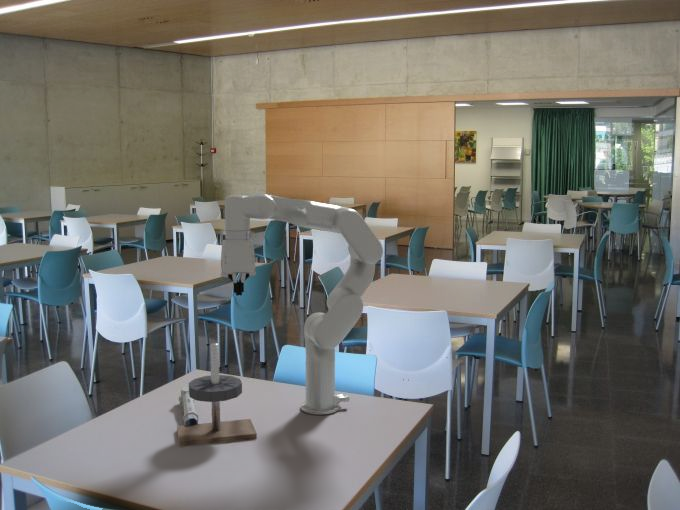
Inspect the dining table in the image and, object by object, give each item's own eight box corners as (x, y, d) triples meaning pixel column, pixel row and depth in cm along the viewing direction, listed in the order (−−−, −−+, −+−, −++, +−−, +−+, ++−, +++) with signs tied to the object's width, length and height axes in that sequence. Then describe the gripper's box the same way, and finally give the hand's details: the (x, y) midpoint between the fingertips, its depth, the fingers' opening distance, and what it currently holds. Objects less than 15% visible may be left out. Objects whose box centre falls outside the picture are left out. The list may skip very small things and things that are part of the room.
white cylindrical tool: (182, 418, 210) (177, 382, 234) (183, 438, 212) (178, 400, 235) (200, 417, 212) (193, 381, 235) (200, 436, 214) (194, 399, 237)
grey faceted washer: (237, 382, 215) (237, 373, 215) (244, 399, 201) (244, 388, 201) (187, 387, 211) (187, 377, 211) (191, 403, 197) (191, 393, 197)
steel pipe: (220, 427, 210) (218, 342, 206) (221, 431, 207) (220, 344, 203) (210, 428, 209) (208, 343, 205) (211, 432, 206) (209, 345, 202)
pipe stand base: (250, 423, 217) (250, 418, 217) (256, 438, 205) (256, 433, 205) (177, 430, 211) (177, 426, 211) (179, 446, 199) (179, 441, 199)
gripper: (260, 233, 221) (260, 291, 223) (211, 235, 216) (213, 293, 219) (264, 236, 213) (264, 296, 216) (214, 237, 209) (215, 298, 212)
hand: (238, 294), depth 217 cm, fingers closed
